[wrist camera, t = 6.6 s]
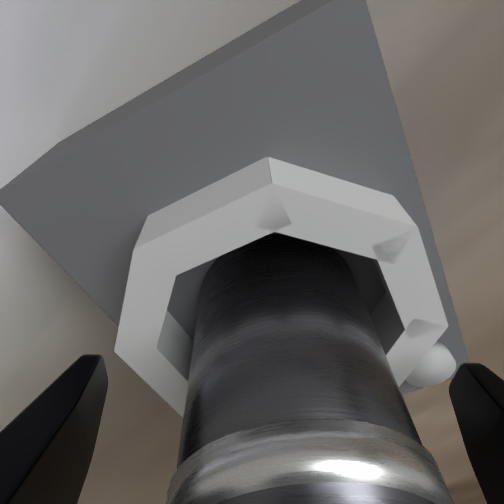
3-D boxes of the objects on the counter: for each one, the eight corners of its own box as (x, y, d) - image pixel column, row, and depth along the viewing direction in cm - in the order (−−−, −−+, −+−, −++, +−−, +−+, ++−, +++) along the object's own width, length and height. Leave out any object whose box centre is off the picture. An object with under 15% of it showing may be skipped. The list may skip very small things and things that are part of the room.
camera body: (424, 295, 16) (497, 412, 12) (236, 364, 18) (235, 487, 14) (321, -12, 10) (387, -19, 6) (59, 142, 12) (-48, 228, 8)
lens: (375, 233, 10) (574, 578, 4) (341, 357, 12) (433, 679, 7) (194, 226, 10) (125, 583, 4) (197, 354, 12) (158, 686, 6)
